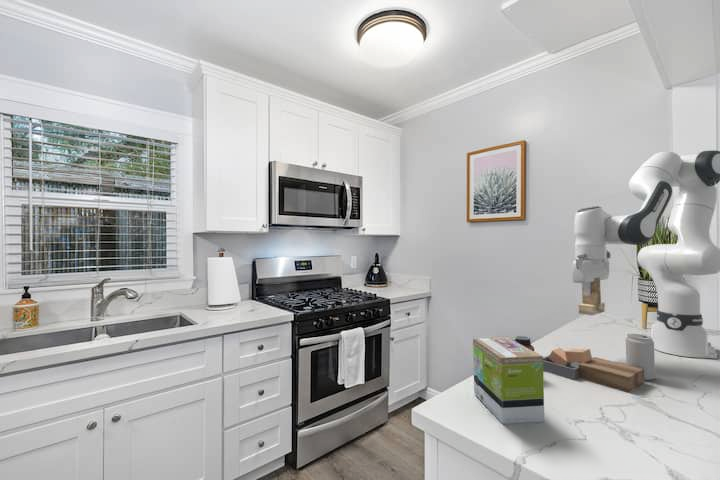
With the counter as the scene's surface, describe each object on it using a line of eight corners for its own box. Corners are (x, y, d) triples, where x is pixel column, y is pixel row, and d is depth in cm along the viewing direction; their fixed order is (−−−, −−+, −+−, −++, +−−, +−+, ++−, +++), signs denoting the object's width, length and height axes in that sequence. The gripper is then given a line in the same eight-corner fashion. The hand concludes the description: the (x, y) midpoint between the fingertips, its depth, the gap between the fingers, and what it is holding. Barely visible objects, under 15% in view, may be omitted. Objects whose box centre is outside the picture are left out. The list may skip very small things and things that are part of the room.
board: (594, 370, 103) (594, 357, 103) (643, 383, 93) (643, 368, 93) (578, 378, 97) (578, 364, 97) (629, 392, 87) (629, 377, 87)
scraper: (591, 309, 119) (590, 276, 119) (604, 311, 116) (603, 276, 116) (578, 313, 113) (577, 278, 113) (592, 315, 110) (591, 278, 110)
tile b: (574, 358, 105) (572, 348, 105) (592, 359, 101) (589, 349, 101) (567, 361, 102) (564, 351, 102) (585, 362, 98) (582, 352, 98)
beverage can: (660, 382, 94) (659, 339, 94) (634, 380, 95) (633, 338, 95) (646, 373, 100) (645, 333, 100) (621, 372, 101) (621, 332, 102)
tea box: (472, 394, 87) (471, 337, 87) (509, 393, 87) (508, 336, 88) (501, 425, 72) (501, 356, 72) (546, 423, 72) (545, 354, 73)
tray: (562, 359, 113) (562, 350, 113) (598, 368, 105) (597, 358, 105) (537, 369, 104) (537, 359, 104) (574, 380, 96) (574, 369, 96)
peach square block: (575, 358, 105) (570, 365, 106) (559, 347, 108) (555, 354, 110) (567, 361, 102) (562, 369, 103) (552, 350, 106) (547, 357, 107)
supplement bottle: (534, 374, 100) (534, 336, 100) (535, 381, 95) (535, 341, 95) (512, 371, 103) (512, 334, 103) (512, 378, 97) (512, 338, 97)
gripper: (587, 255, 106) (588, 298, 106) (612, 253, 118) (613, 292, 118) (566, 254, 111) (567, 296, 111) (592, 253, 123) (593, 290, 123)
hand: (591, 294), depth 114 cm, fingers closed on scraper, 4 cm apart
